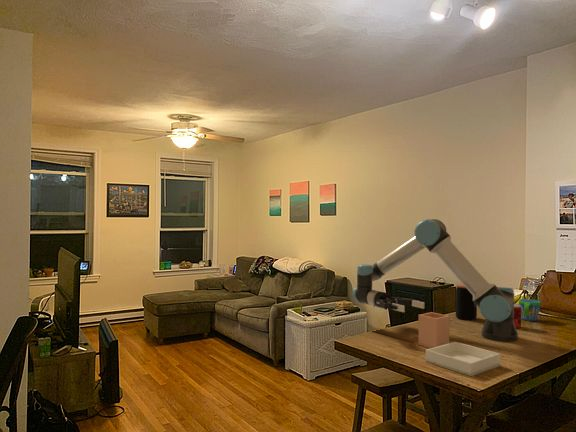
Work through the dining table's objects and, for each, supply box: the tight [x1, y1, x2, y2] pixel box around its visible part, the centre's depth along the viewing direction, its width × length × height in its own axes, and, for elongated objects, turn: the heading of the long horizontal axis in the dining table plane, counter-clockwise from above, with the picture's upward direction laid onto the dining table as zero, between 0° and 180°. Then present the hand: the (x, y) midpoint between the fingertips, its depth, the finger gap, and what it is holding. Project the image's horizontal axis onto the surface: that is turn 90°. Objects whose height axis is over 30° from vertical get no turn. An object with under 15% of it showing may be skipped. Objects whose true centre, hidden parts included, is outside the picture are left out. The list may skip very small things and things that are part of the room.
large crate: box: [425, 341, 501, 377], centre depth 168 cm, size 19×19×4 cm
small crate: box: [417, 311, 450, 349], centre depth 191 cm, size 9×9×13 cm
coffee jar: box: [455, 283, 478, 321], centre depth 241 cm, size 11×11×18 cm
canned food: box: [514, 303, 522, 330], centre depth 223 cm, size 8×8×11 cm
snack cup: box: [518, 298, 542, 322], centre depth 238 cm, size 16×10×10 cm
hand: (414, 307), depth 199 cm, fingers open, 13 cm apart
